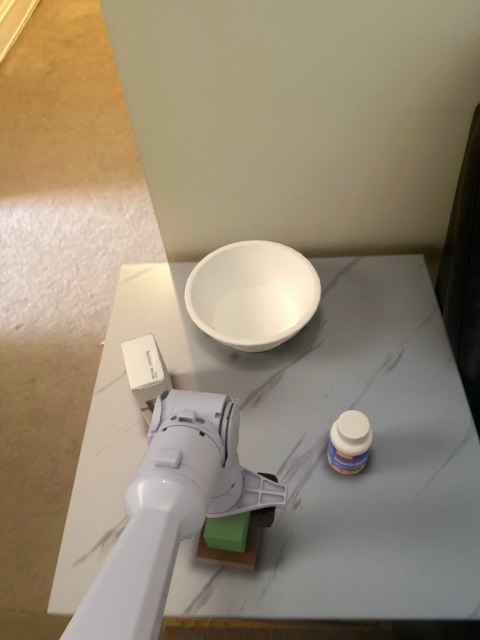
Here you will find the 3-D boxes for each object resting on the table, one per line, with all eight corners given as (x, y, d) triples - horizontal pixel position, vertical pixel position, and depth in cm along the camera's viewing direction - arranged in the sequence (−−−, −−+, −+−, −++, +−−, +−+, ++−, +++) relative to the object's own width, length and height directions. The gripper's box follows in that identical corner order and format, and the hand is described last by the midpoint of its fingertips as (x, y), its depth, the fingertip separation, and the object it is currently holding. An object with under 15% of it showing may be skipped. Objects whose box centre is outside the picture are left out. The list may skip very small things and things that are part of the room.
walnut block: (254, 571, 69) (253, 565, 67) (199, 563, 70) (195, 556, 68) (262, 515, 73) (261, 507, 71) (209, 508, 74) (207, 500, 72)
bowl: (305, 386, 85) (306, 356, 78) (174, 361, 89) (165, 330, 83) (329, 282, 97) (331, 249, 90) (212, 265, 101) (207, 231, 95)
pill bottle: (329, 476, 76) (334, 446, 68) (324, 439, 79) (328, 406, 71) (370, 474, 76) (379, 443, 68) (363, 437, 79) (371, 403, 71)
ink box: (138, 384, 87) (119, 340, 77) (169, 375, 88) (154, 330, 78) (149, 433, 82) (130, 392, 72) (182, 422, 82) (168, 380, 73)
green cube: (244, 553, 68) (241, 542, 64) (207, 547, 69) (203, 536, 65) (249, 515, 70) (247, 503, 67) (214, 510, 71) (210, 498, 68)
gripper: (290, 438, 55) (291, 487, 65) (147, 422, 57) (170, 472, 68) (282, 511, 50) (284, 550, 61) (128, 490, 53) (156, 532, 64)
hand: (224, 513), depth 64 cm, fingers open, 7 cm apart
